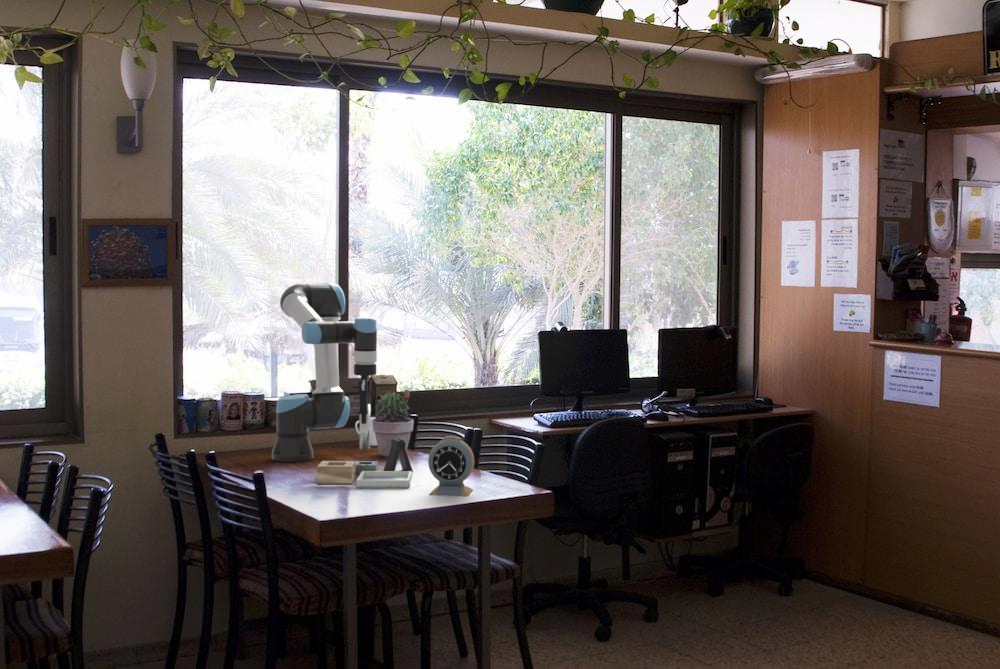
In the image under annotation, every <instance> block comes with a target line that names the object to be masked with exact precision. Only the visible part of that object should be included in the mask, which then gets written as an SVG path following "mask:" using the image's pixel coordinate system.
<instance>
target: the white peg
mask: <svg viewBox="0 0 1000 669" xmlns="http://www.w3.org/2000/svg"><path fill="white" fill-rule="evenodd" d="M358 407H359V410H360V404H359V405H358ZM370 409H371V403H370V404H368V433H360V435H359V450H364V451H365V450H370V449H371V446H370V417H371V411H370ZM358 415H359V416H358V417H359V420H358V421H359V423H358V424H359V427H358V431H360V414H358Z"/></svg>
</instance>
